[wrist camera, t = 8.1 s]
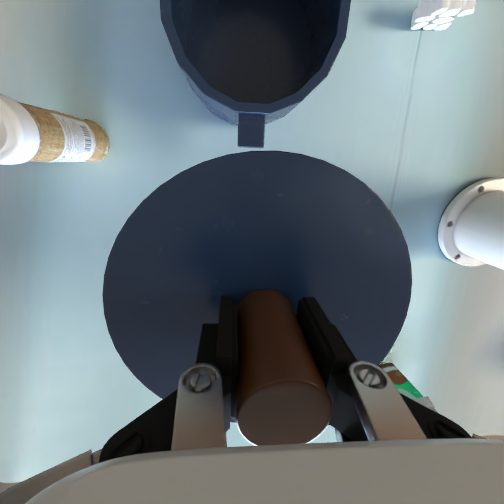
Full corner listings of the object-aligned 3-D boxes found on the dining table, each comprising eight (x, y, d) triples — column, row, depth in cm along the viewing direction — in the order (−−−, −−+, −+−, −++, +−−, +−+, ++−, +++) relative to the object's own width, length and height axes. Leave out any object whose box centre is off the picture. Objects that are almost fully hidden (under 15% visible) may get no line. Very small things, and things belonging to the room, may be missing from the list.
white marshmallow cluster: (446, 14, 27) (485, -12, 23) (444, 30, 28) (481, 7, 24) (403, 15, 27) (434, -12, 23) (401, 31, 28) (431, 8, 23)
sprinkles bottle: (71, 113, 28) (-61, 73, 15) (114, 128, 29) (22, 103, 16) (67, 155, 29) (-58, 150, 17) (108, 168, 30) (18, 173, 17)
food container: (360, 357, 43) (396, 411, 34) (394, 356, 44) (438, 409, 34) (347, 409, 47) (376, 471, 38) (379, 408, 48) (415, 468, 38)
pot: (328, -66, 24) (376, -176, 17) (304, 153, 31) (329, 151, 23) (176, -87, 23) (146, -217, 15) (184, 147, 30) (168, 142, 22)
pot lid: (434, 162, 12) (652, 162, 6) (366, 403, 17) (442, 540, 11) (90, 139, 11) (-113, 109, 4) (129, 410, 16) (63, 572, 10)
